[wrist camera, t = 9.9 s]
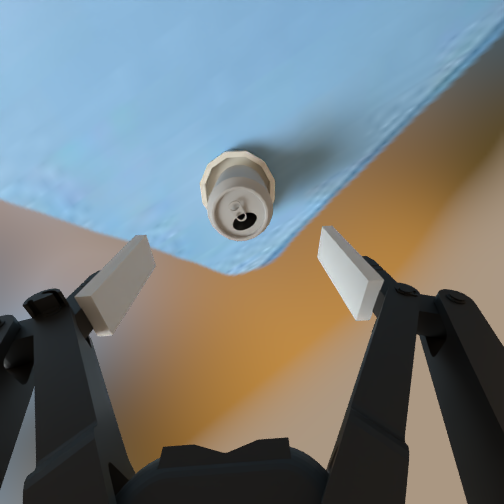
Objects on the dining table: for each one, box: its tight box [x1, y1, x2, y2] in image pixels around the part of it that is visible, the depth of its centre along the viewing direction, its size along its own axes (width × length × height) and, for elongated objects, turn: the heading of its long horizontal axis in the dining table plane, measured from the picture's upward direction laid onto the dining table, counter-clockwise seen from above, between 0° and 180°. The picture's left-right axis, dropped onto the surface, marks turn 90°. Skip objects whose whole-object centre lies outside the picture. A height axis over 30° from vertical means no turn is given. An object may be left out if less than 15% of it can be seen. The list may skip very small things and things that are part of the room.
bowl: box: [200, 150, 275, 209], centre depth 32 cm, size 11×11×2 cm
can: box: [207, 165, 273, 241], centre depth 28 cm, size 8×8×12 cm
